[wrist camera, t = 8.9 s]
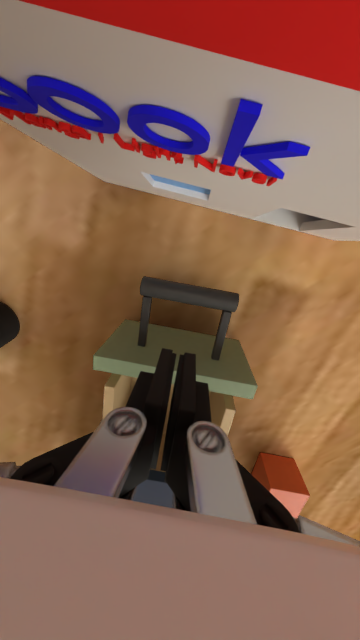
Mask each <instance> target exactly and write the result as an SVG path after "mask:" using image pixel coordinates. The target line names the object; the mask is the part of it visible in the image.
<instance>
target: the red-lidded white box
mask: <svg viewBox="0 0 360 640" xmlns="http://www.w3.org/2000/svg"><path fill="white" fill-rule="evenodd" d="M0 119H1V120H3V121H4V122H6V123H8V124H9V125H11V126H13V127H14V128H16V129H18V130H19V131H21V132H23V133H24V134H26V135H28V136H29V137H31V138H33V139H34V140H36V141H38V142H39V143H41V144H43V145H44V146H46V147H48V148H49V149H51V150H53V151H54V152H56V153H58V154H59V155H61V156H63V157H64V158H66V159H67V160H69V161H71V162H72V163H74V164H76V165H77V166H79V167H81V168H82V169H84V170H86V171H87V172H89V173H91V174H92V175H94V176H96V177H97V178H99V179H101V180H102V181H104V182H108V183H112V184H116V185H120V186H124V187H128V188H131V189H135V190H139V191H143V192H147V193H151V194H155V195H159V196H163V197H167V198H170V199H174V200H178V201H182V202H186V203H190V204H194V205H198V206H202V207H206V208H210V209H213V210H217V211H221V212H225V213H229V214H233V215H237V216H241V217H245V218H249V219H253V220H256V221H260V222H264V223H268V224H272V225H276V226H280V227H284V228H288V229H292V230H295V231H299V232H303V233H307V234H311V235H315V236H319V237H323V238H327V239H331V240H339V241H360V0H0Z"/></svg>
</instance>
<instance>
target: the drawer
mask: <svg viewBox="0 0 360 640" xmlns="http://www.w3.org/2000/svg"><path fill="white" fill-rule="evenodd" d="M140 294H141V295H143V302H142V310H141V319H140V322H138V321H132V320H127V319H125V320H124V321H123V322H122V323H121V325H120V326H119V327H118V328H117V329H116V330H115V331H114V333H113V334H112V335H111V336H110V337H109V338H108V339H107V340H106V342H105V343H104V344H103V345H102V346H101V347H100V348H99V350H98V351H97V352H96V353H95V354H94V355H93V370H98V371H104V372H109V373H112V374H111V376H110V378H109V379H108V381H107V382H106V384H105V386H104V399H103V416H102V420H103V419H104V418H105V416H106V415H107V414H108V413H109V412H110V411H112V410H114V409H116V408H120V407H126V404H127V402H128V400H129V397H130V395H131V392H132V390H133V388H134V385H135V383H136V381H137V378H138V376H139V374H140V372H141V371H144V372H149V373H154V372H155V369H156V366H157V363H158V360H159V356H160V353H161V350H162V348H165V349H170V350H173V353H176V360H175V366H174V372H173V378H172V384H171V390H170V396H169V402H168V408H167V413H166V418H165V424H164V429H163V434H162V440H161V445H160V450H159V456H158V461H157V466H156V469H151V470H156V471H161V470H160V469H161V462H162V456H163V450H164V443H165V437H166V430H167V424H168V417H169V411H170V404H171V399H172V393H173V388H174V383H175V378H176V373H177V367H178V362H179V357H180V354H181V355H184V353H185V352H186V353H192V354H196V381H198V382H203V383H208V387H209V399H210V410H211V422H212V423H214V424H216V425H218V426H219V427H220V428H222V429H223V431H224V432H225V433H226V435H227V436H228V433H229V430H230V427H231V424H232V421H233V418H234V415H235V412H236V409H235V405H234V400H233V396H238V397H243V398H248V399H253V397H254V394H255V392H256V389H257V383H256V381H255V379H254V376H253V374H252V371H251V369H250V366H249V364H248V361H247V359H246V357H245V354H244V352H243V349H242V347H241V344H240V342H239V340H235V339H230V338H225V336H226V332H227V328H228V324H229V321H230V317H231V312H235V311H236V309H237V306H238V302H239V294H238V293H233V292H227V291H222V290H216V289H211V288H206V287H200V286H195V285H189V284H184V283H178V282H173V281H167V280H162V279H156V278H151V277H146V276H144V277H143V278H142V281H141V285H140ZM152 297H153V298H159V299H164V300H170V301H175V302H181V303H186V304H191V305H197V306H202V307H208V308H213V309H219V310H222V314H221V318H220V322H219V326H218V330H217V334H216V336H213V335H208V334H203V333H197V332H192V331H186V330H181V329H176V328H170V327H165V326H159V325H154V324H149V318H150V311H151V303H152ZM161 472H166V471H161Z"/></svg>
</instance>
